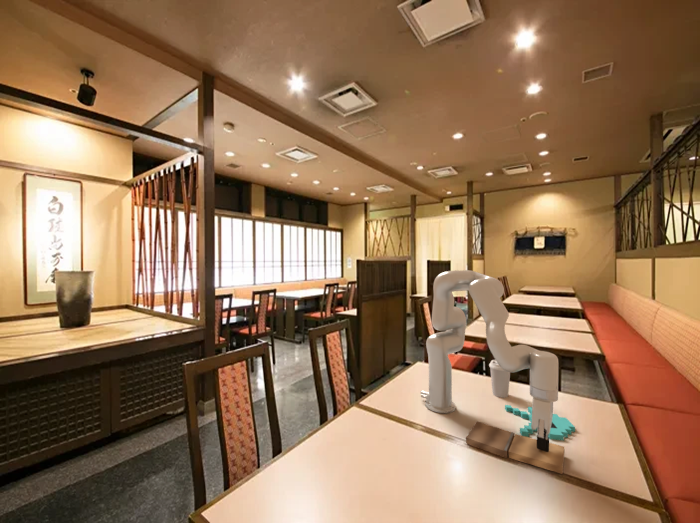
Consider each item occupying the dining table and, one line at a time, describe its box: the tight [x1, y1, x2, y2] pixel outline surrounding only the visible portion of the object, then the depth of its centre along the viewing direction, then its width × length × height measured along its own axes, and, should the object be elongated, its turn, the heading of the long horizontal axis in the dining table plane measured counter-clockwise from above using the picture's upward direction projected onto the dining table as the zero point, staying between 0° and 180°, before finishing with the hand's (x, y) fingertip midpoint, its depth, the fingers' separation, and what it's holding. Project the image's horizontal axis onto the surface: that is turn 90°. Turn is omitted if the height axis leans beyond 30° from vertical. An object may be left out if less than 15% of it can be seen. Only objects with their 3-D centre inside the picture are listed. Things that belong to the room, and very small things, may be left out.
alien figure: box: [504, 404, 576, 441], centre depth 115 cm, size 20×2×20 cm
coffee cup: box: [488, 359, 511, 399], centre depth 141 cm, size 10×10×15 cm
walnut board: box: [465, 420, 516, 459], centre depth 105 cm, size 13×13×2 cm
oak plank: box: [508, 433, 565, 475], centre depth 96 cm, size 14×12×2 cm
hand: (542, 449), depth 95 cm, fingers closed
